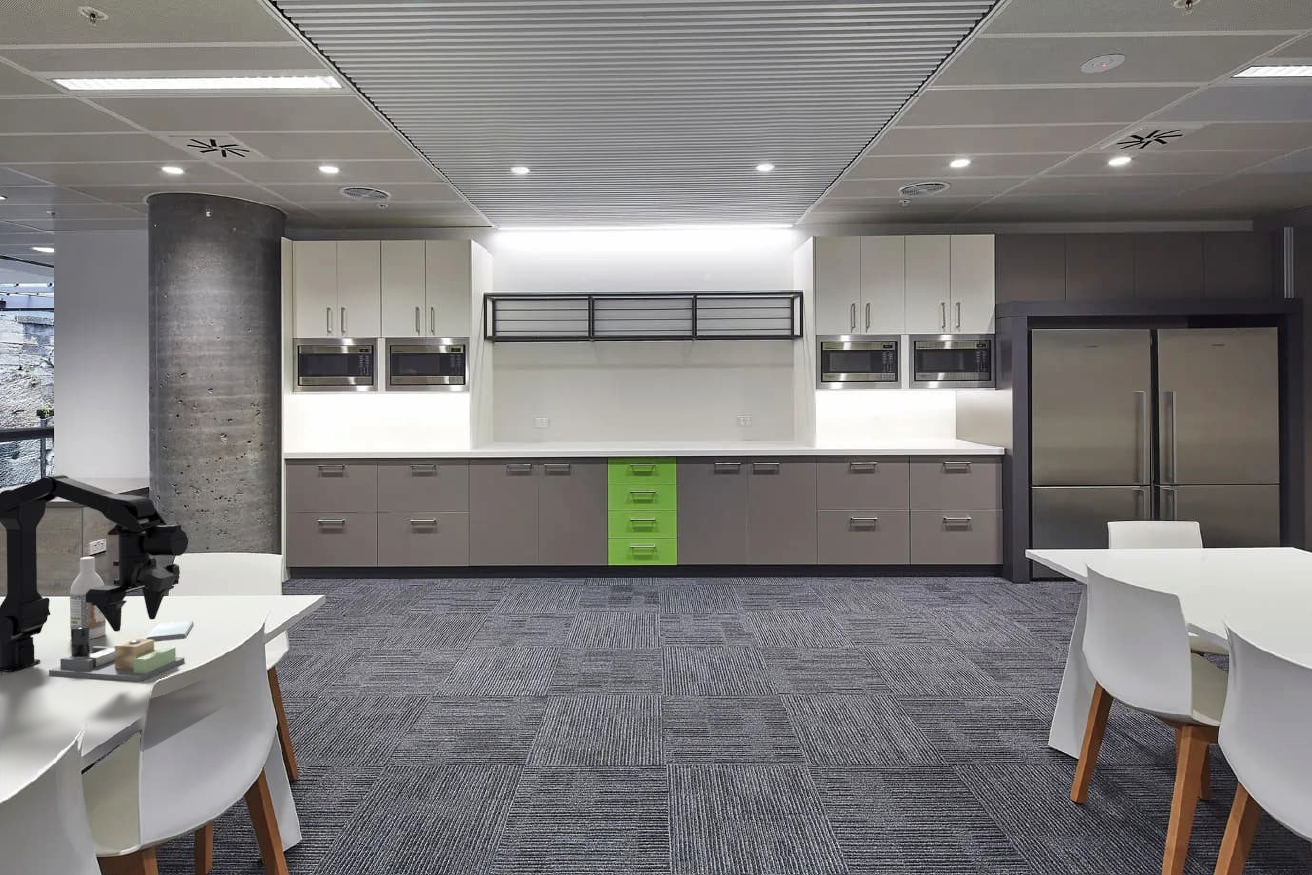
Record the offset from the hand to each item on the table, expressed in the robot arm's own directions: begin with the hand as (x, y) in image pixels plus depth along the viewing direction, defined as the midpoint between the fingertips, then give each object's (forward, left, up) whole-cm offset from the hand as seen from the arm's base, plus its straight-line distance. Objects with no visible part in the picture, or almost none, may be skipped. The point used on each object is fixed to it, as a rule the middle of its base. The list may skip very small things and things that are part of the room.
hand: (135, 625), depth 159 cm
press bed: (-4, 0, -10) cm, 11 cm away
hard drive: (-13, +25, -11) cm, 30 cm away
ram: (-11, 0, -9) cm, 14 cm away
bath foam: (-30, +18, -10) cm, 37 cm away
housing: (0, 0, -9) cm, 9 cm away
